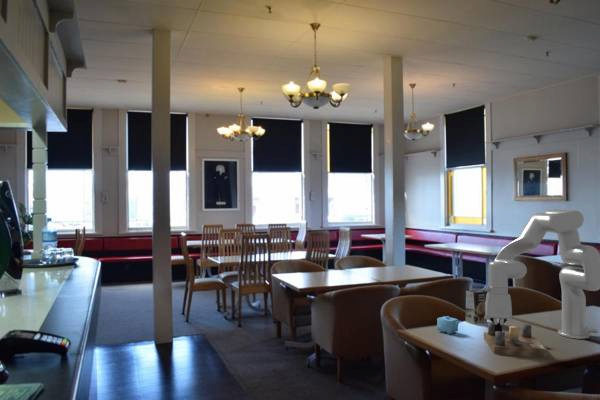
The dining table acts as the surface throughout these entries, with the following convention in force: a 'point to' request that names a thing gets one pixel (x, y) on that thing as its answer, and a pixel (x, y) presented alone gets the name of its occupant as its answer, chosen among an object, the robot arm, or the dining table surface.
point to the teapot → (447, 324)
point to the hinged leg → (514, 334)
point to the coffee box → (475, 306)
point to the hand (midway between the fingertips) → (497, 333)
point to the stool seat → (506, 346)
